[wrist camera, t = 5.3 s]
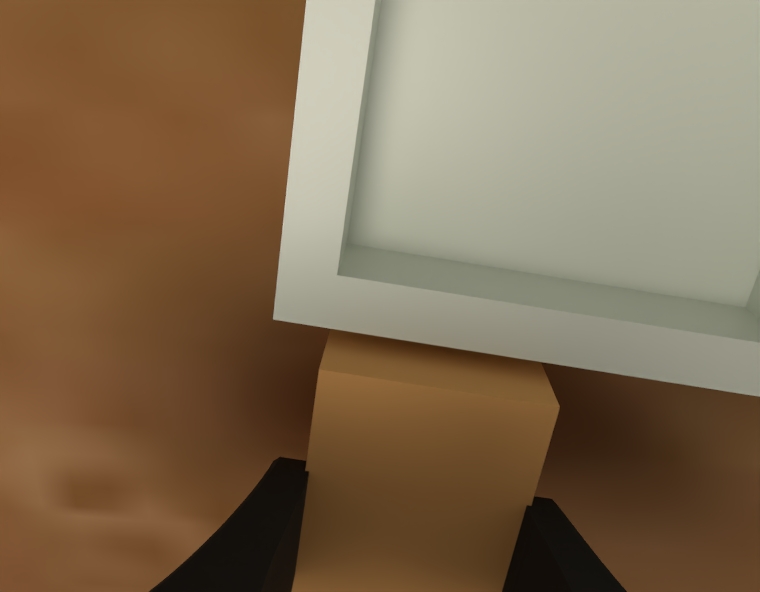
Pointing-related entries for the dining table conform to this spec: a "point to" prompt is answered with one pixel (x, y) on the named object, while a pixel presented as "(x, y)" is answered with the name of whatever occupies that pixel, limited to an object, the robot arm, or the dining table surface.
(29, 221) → the dining table surface
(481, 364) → the block
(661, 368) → the tray
